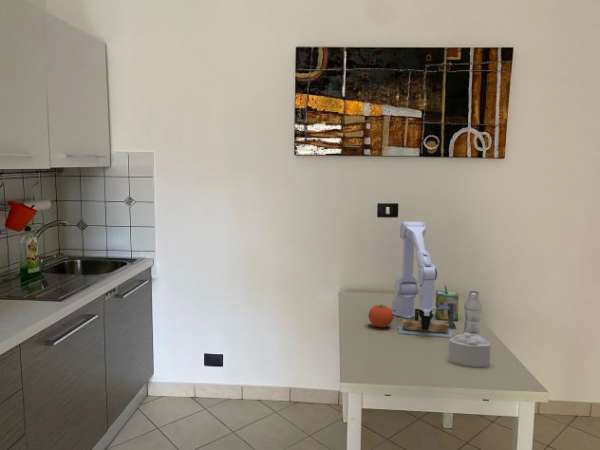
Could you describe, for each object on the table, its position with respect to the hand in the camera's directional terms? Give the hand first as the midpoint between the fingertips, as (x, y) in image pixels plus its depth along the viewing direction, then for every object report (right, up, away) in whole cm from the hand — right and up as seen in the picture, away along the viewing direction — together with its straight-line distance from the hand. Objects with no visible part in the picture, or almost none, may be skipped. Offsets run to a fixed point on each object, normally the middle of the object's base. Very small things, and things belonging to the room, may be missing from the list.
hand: (424, 328), depth 195 cm
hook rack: (+6, -1, +10) cm, 12 cm away
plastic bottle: (+15, -3, -12) cm, 19 cm away
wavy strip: (0, -1, 0) cm, 1 cm away
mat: (0, -2, 0) cm, 2 cm away
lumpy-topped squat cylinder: (+7, -5, -29) cm, 31 cm away
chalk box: (+15, 0, +22) cm, 27 cm away
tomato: (-17, -1, +7) cm, 18 cm away
